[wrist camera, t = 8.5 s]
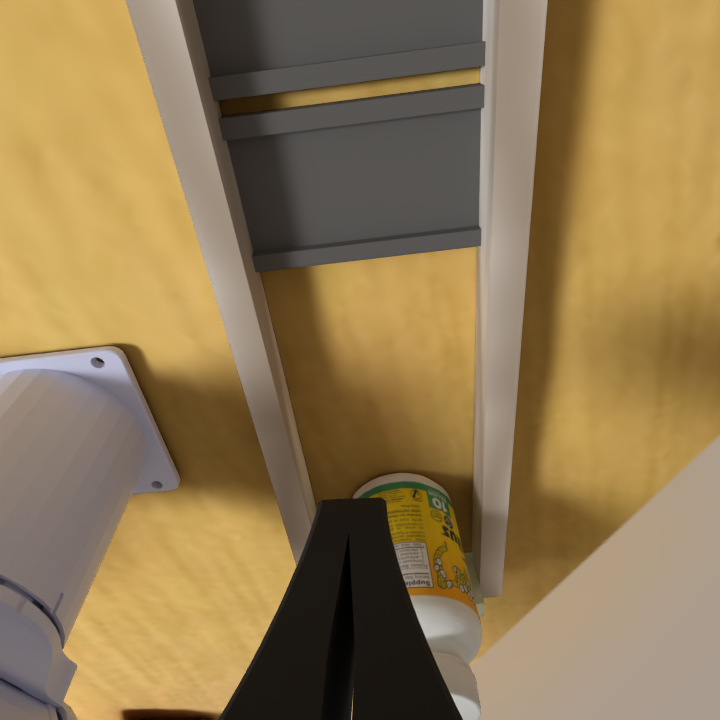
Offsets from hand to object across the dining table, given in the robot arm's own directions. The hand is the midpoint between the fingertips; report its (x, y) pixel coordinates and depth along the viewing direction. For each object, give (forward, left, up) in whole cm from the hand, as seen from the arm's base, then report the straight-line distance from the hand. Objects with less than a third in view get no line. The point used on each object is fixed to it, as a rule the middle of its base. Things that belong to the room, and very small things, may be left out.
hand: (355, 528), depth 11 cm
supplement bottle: (+1, -12, -11) cm, 16 cm away
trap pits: (+1, +7, -10) cm, 13 cm away
